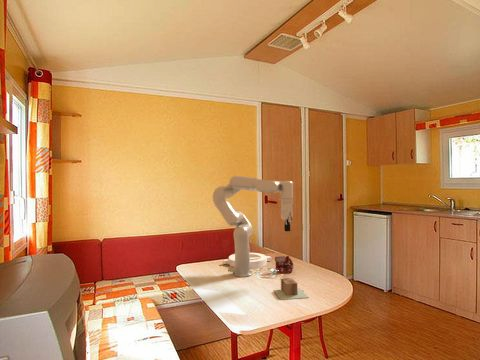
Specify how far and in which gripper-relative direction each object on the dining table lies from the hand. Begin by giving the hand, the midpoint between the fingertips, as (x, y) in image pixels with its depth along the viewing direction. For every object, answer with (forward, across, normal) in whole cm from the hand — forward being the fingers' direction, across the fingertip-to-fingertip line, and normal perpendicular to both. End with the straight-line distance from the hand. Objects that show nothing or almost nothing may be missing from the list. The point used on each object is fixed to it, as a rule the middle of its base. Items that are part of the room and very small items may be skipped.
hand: (287, 231), depth 181 cm
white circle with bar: (+30, -40, -18) cm, 53 cm away
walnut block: (+26, +17, -6) cm, 32 cm away
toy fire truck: (+29, -14, +2) cm, 33 cm away
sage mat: (+29, +24, -6) cm, 39 cm away
